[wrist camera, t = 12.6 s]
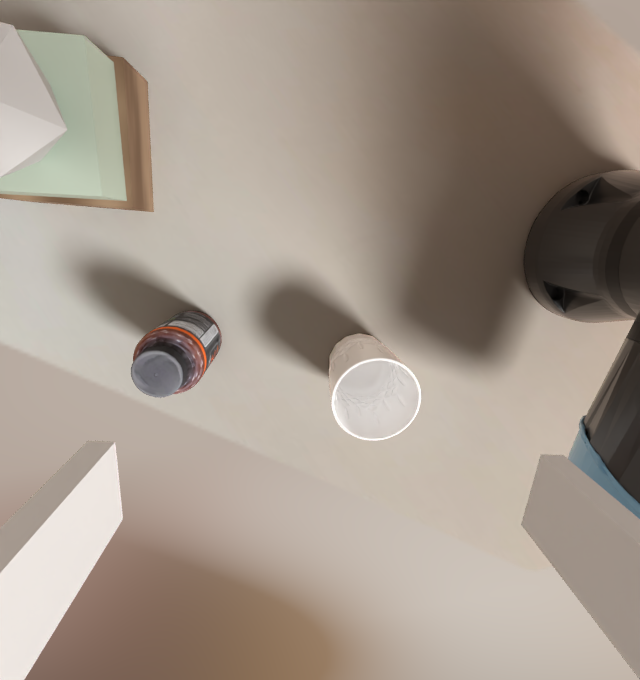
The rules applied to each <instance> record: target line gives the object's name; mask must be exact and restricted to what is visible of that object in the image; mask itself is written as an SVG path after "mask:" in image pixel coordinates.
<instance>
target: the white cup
mask: <svg viewBox="0 0 640 680" xmlns="http://www.w3.org/2000/svg"><path fill="white" fill-rule="evenodd" d="M329 388H330V397H331V407H332V412H333V415H334V417H335V419H336V421H337V423H338V424H339V425H340V427H341V428H342V429H343V430H345V431H346V432H347V433H349V434H350V435H352V436H354V437H356V438H359V439H363V440H382V439H386V438H390V437H392V436H394V435H396V434H398V433H400V432H401V431H403V430H404V429H405V428H406V427H407V426H408V425H409V424H410V423H411V422H412V421H413V419H414V418H415V416H416V414H417V412H418V410H419V407H420V402H421V390H420V386H419V383H418V380H417V378H416V377H415V375H414V374H413V372H412V371H411V370H410V369H409V368H408V367H407V366H406V365H405V364H404V363H403V362H402V361H401V360H400V359H399V358H398V357H397V356H396V355H395V354H394V353H393V352H392V351H391V350H390V349H388V348H387V347H386V346H385V345H384V344H382V343H381V342H380V341H378V340H377V339H376V338H375V337H373V336H370V335H366V334H361V333H358V334H354V335H350V336H346V337H345V338H343V339H342V340H341V341H339V342H338V343H337V344H336V345H335V346H334V348H333V350H332V352H331V354H330V356H329Z"/></svg>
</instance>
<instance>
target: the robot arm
mask: <svg viewBox="0 0 640 680" xmlns="http://www.w3.org/2000/svg"><path fill="white" fill-rule="evenodd" d="M524 267H525V274H526V279H527V282H528V285H529V288H530V290H531V292H532V293H533V295H534V297H535V298H536V299H537V300H538V302H539V303H540V304H541V305H542V306H544V307H545V308H546V309H547V310H549V311H551V312H552V313H554V314H557V315H559V316H562V317H565V318H569V319H572V320H575V321H580V322H588V323H599V322H612V321H624V320H635V321H634V323H633V325H632V327H631V329H630V331H629V333H628V335H627V337H626V339H625V341H624V343H623V345H622V347H621V349H620V351H619V353H618V355H617V356H616V358H615V360H614V362H613V364H612V366H611V368H610V370H609V372H608V374H607V376H606V378H605V380H604V382H603V384H602V386H601V388H600V390H599V392H598V394H597V396H596V398H595V400H594V401H593V403H592V405H591V407H590V409H589V411H588V413H587V415H586V416H583V417H582V419H581V420H580V423H579V429H580V430H579V432H578V434H577V437H576V439H575V441H574V444H573V446H572V448H571V451H570V453H569V457H568V459H567V458H566V457H565V456H564V455H540V459H539V463H538V466H537V470H536V473H535V477H534V481H533V484H532V488H531V491H530V495H529V498H528V502H527V506H526V509H525V513H524V516H523V520H522V524H521V525H522V526H523V528H524V529H525V530H526V532H527V533H528V534H529V535H530V537H531V538H532V539H533V541H534V542H535V543H536V545H537V546H538V547H539V549H540V550H541V551H542V552H543V554H544V555H545V556H546V558H547V559H548V560H549V562H550V563H551V564H552V566H553V567H554V568H555V569H556V571H557V572H558V573H559V575H560V576H561V577H562V578H563V580H564V581H565V583H566V584H567V585H568V586H569V588H570V589H571V590H572V592H573V593H574V594H575V595H576V597H577V598H578V600H579V601H580V602H581V603H582V605H583V606H584V607H585V609H586V610H587V611H588V613H589V614H590V615H591V616H592V618H593V619H594V620H595V622H596V623H597V624H598V626H599V627H600V628H601V629H602V631H603V632H604V633H605V635H606V636H607V637H608V639H609V640H610V641H611V643H612V644H613V645H614V647H615V648H616V649H617V651H618V652H619V653H620V654H621V656H622V657H623V658H624V660H625V661H626V662H627V664H628V665H629V666H630V668H631V669H632V670H633V671H634V673H635V674H636V675H637V677H638V678H639V679H640V171H637V170H615V171H609V172H604V173H599V174H594V175H590V176H587V177H584V178H582V179H579V180H577V181H575V182H573V183H571V184H570V185H568V186H567V187H565V188H564V189H562V190H561V191H560V192H559V193H557V194H556V195H555V196H554V197H553V198H552V199H551V200H550V201H549V202H548V203H547V205H546V206H545V207H544V208H543V210H542V211H541V212H540V214H539V216H538V217H537V219H536V221H535V222H534V224H533V227H532V229H531V231H530V234H529V237H528V240H527V244H526V249H525V257H524ZM122 519H123V515H122V504H121V494H120V484H119V474H118V464H117V454H116V444H115V442H104V441H87V442H86V444H85V445H84V446H83V447H81V448H80V449H79V450H78V451H77V453H75V454H74V455H73V456H72V457H71V458H70V459H69V460H68V461H67V462H66V463H65V464H64V465H63V466H62V467H61V468H60V469H59V470H58V471H57V472H56V473H55V474H54V475H53V476H52V477H51V478H50V479H49V480H48V481H47V482H46V483H45V484H44V485H43V486H42V487H41V488H40V489H39V490H38V491H37V492H36V493H35V494H34V495H33V496H32V497H31V498H30V499H29V500H28V501H27V502H26V503H25V504H24V505H23V506H22V507H21V508H20V509H19V510H18V511H17V512H16V513H15V514H14V515H13V516H12V517H11V518H10V519H9V520H8V521H7V522H6V523H5V524H4V525H3V526H2V527H1V528H0V680H24V679H25V678H26V676H27V674H28V673H29V671H30V669H31V668H32V666H33V665H34V663H35V661H36V660H37V658H38V656H39V655H40V653H41V652H42V650H43V648H44V647H45V645H46V643H47V641H48V640H49V639H50V637H51V635H52V634H53V632H54V630H55V629H56V627H57V625H58V624H59V622H60V621H61V619H62V617H63V616H64V614H65V612H66V611H67V609H68V607H69V606H70V604H71V603H72V601H73V599H74V598H75V596H76V595H77V593H78V591H79V590H80V588H81V586H82V584H83V583H84V581H85V580H86V578H87V577H88V575H89V573H90V572H91V570H92V568H93V567H94V565H95V564H96V562H97V560H98V559H99V557H100V555H101V554H102V552H103V551H104V549H105V547H106V545H107V544H108V542H109V541H110V539H111V537H112V536H113V534H114V532H115V531H116V529H117V528H118V526H119V524H120V523H121V521H122Z"/></svg>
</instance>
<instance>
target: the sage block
mask: <svg viewBox="0 0 640 680" xmlns="http://www.w3.org/2000/svg"><path fill="white" fill-rule="evenodd" d="M16 31H17V32H18V34H19V35H20V37H21V39H22V40H23V42H24V43H25V45H26V47H27V48H28V50H29V51H30V53H31V55H32V56H33V58H34V59H35V61H36V63H37V64H38V66H39V67H40V69H41V71H42V72H43V74H44V75H45V77H46V79H47V80H48V82H49V83H50V85H51V88H52V91H53V93H54V96H55V98H56V101H57V104H58V106H59V109H60V111H61V114H62V117H63V119H64V122H65V124H66V127H67V131H66V132H65V133H64V134H63V136H62V137H61V138H60V139H59V140H58V141H57V143H56V144H55V145H54V146H53V147H52V148H51V150H50V151H49V152H48V153H47V154H46V155H45V157H44V158H43V159H42V160H41V161H40V162H37V163H35V164H32V165H30V166H28V167H25V168H23V169H20V170H18V171H15V172H13V173H11V174H8V175H6V176H3V177H1V178H0V194H11V195H29V196H47V197H64V198H82V199H100V200H118V201H127V197H126V187H125V176H124V166H123V155H122V144H121V134H120V123H119V113H118V102H117V91H116V81H115V70H114V62H113V61H112V60H111V59H109V58H108V57H107V56H106V55H105V54H104V53H103V52H102V51H101V50H100V49H99V48H97V47H96V46H95V45H94V44H93V43H92V42H91V41H90V40H89V39H88V38H87V37H86V36H84V35H75V34H63V33H52V32H40V31H28V30H17V29H16Z"/></svg>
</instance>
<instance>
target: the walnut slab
mask: <svg viewBox="0 0 640 680" xmlns="http://www.w3.org/2000/svg"><path fill="white" fill-rule="evenodd" d="M107 57H108V58H109V59H111V60H112V61H113V62H114V70H115V81H116V91H117V102H118V113H119V123H120V134H121V144H122V155H123V166H124V176H125V187H126V197H127V201H118V200H100V199H82V198H64V197H47V196H29V195H11V194H0V198H4V199H13V200H21V201H30V202H40V203H52V204H64V205H76V206H88V207H100V208H112V209H124V210H136V211H148V212H154V209H153V188H152V167H151V146H150V125H149V104H148V83H147V81H146V80H145V79H144V78H143V77H142V76H141V75H140V74H139V73H138V72H137V71H136V70H135V69H134V68H133V67H132V66H131V65H130V64H129V63H128V62H127V61H126V60H125V59H124V58H123V57H115V56H107Z"/></svg>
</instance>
